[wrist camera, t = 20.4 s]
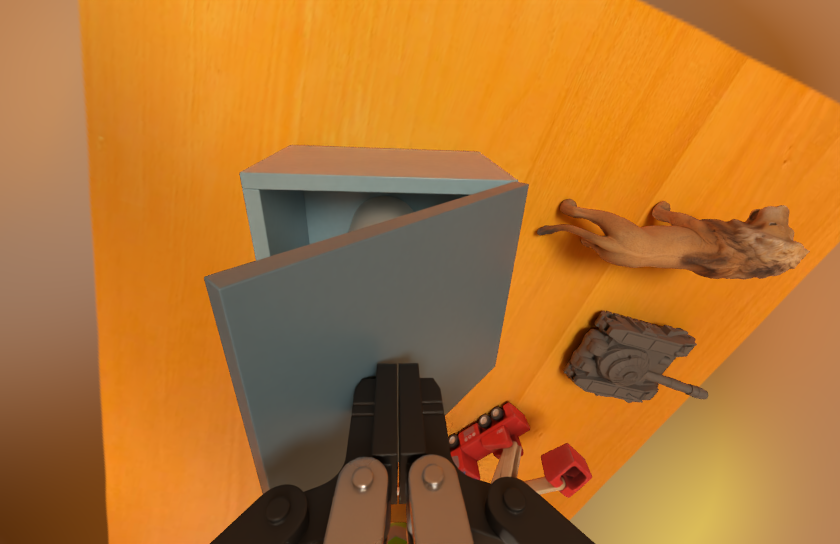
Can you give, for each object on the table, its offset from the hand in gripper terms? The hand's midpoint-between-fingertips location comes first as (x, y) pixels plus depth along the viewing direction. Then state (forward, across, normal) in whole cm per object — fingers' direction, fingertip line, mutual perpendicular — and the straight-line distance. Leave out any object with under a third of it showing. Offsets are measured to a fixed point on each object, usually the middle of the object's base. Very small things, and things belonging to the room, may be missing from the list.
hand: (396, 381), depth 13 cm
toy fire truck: (+17, -11, +23) cm, 31 cm away
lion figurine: (+17, -19, -1) cm, 26 cm away
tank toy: (+17, -23, +13) cm, 32 cm away
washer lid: (+3, -1, 0) cm, 3 cm away
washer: (+17, +1, 0) cm, 17 cm away
